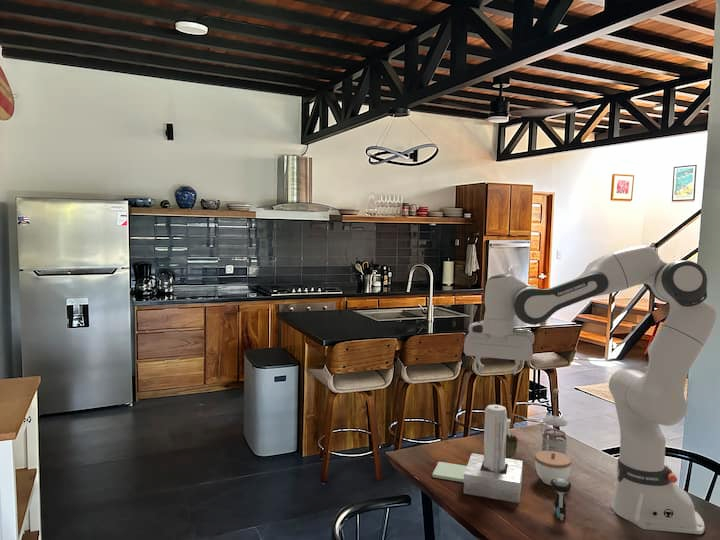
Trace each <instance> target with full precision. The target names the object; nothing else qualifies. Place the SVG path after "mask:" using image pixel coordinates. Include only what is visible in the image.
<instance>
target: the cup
mask: <svg viewBox="0 0 720 540" xmlns="http://www.w3.org/2000/svg"><path fill="white" fill-rule="evenodd" d="M518 441H519V439H518V437H516V435H513V434H510V437H509V435H508V434H507V435H506V458H507V459H513V458H512V457H513V456H515V454H516V452H517V447H518Z"/></svg>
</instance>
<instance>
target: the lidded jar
mask: <svg viewBox="0 0 720 540" xmlns="http://www.w3.org/2000/svg"><path fill="white" fill-rule="evenodd" d="M534 460H535V461H534V462H535V463H534V464H535V471H536V474H537V475H538V477H539V478H540V479H541V481H542V482H543V483H544V484H546V485H548V486H551V480H552V479H554V478H555V477H563V478H566V479H567V480H568V478H569V477H570V474H571V467H572V459H571V458H570V457H569V456H568V455H567V454H565V455H564V454H562V453H559V452H554V451H542V450H541V451H538V452H536V453H535V454H534Z"/></svg>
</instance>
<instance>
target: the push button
mask: <svg viewBox="0 0 720 540" xmlns="http://www.w3.org/2000/svg"><path fill="white" fill-rule="evenodd" d="M550 486H551V488H552V489H553V490H554V491H555V492H556V496H555V499H554V501H553V504H554V505H553V506H554V507H553V514H556V517H557V519H559V520H560V521H564V519H565V516H566V515H567V514H566V513H567V510H566V506H567V502H566V500H565V493H568V492H570V491H571V487H572V484H571V482H570V481H568V479H566V478H563V477H555V478H554V479H552V480H551V485H550Z"/></svg>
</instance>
